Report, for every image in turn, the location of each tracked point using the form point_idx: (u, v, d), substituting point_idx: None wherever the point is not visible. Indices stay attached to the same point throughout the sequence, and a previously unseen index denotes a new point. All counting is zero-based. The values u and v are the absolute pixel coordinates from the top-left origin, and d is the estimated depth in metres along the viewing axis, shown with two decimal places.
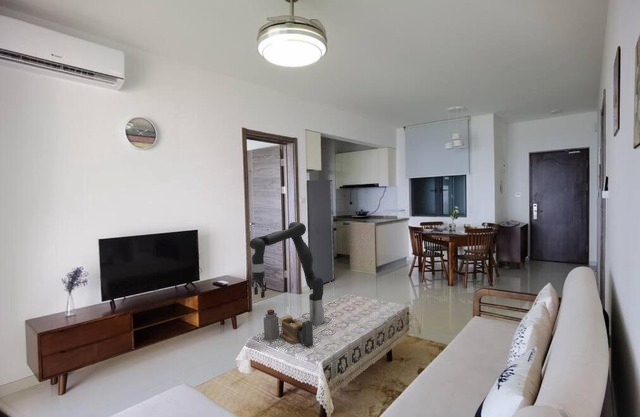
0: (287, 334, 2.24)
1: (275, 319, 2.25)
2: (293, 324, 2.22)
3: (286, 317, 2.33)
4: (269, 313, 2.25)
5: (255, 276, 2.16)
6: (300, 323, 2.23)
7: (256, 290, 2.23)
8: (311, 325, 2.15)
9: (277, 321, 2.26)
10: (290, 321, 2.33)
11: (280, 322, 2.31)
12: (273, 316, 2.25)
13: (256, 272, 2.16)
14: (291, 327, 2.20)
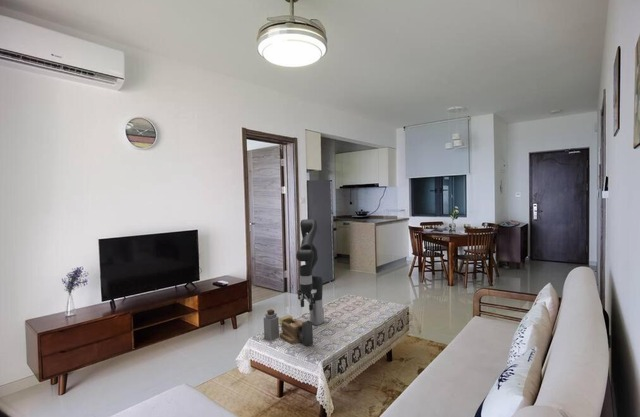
0: (287, 334, 2.24)
1: (275, 319, 2.25)
2: (293, 324, 2.22)
3: (286, 317, 2.33)
4: (269, 313, 2.25)
5: (303, 288, 2.10)
6: (300, 323, 2.23)
7: (303, 302, 2.17)
8: (311, 325, 2.15)
9: (277, 321, 2.26)
10: (290, 321, 2.33)
11: (280, 322, 2.31)
12: (273, 316, 2.25)
13: (304, 284, 2.10)
14: (291, 327, 2.20)
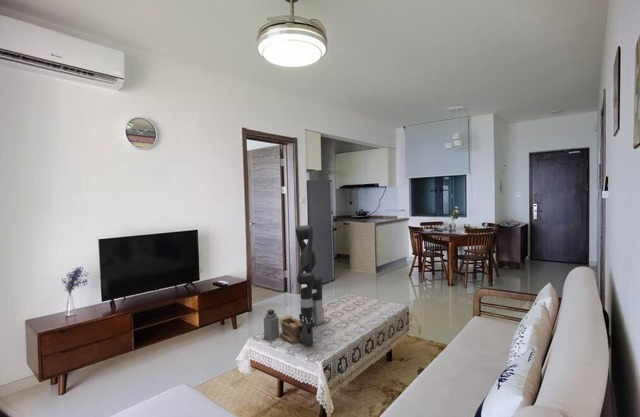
0: (287, 334, 2.24)
1: (275, 319, 2.25)
2: (293, 324, 2.22)
3: (286, 317, 2.33)
4: (269, 313, 2.25)
5: (304, 312, 2.11)
6: (300, 323, 2.23)
7: None
8: None
9: (277, 321, 2.26)
10: (290, 321, 2.33)
11: (280, 322, 2.31)
12: (273, 316, 2.25)
13: (305, 307, 2.11)
14: (291, 327, 2.20)
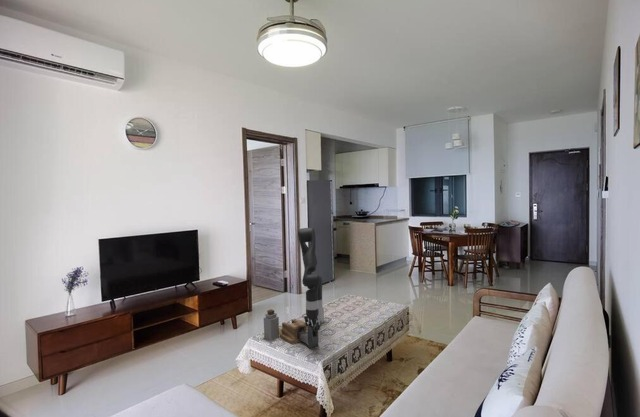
0: (287, 334, 2.24)
1: (275, 319, 2.25)
2: (293, 324, 2.22)
3: None
4: (269, 313, 2.25)
5: (309, 314, 2.07)
6: (300, 323, 2.23)
7: None
8: None
9: (277, 321, 2.26)
10: None
11: (280, 332, 2.32)
12: (273, 316, 2.25)
13: (311, 310, 2.06)
14: (291, 327, 2.20)
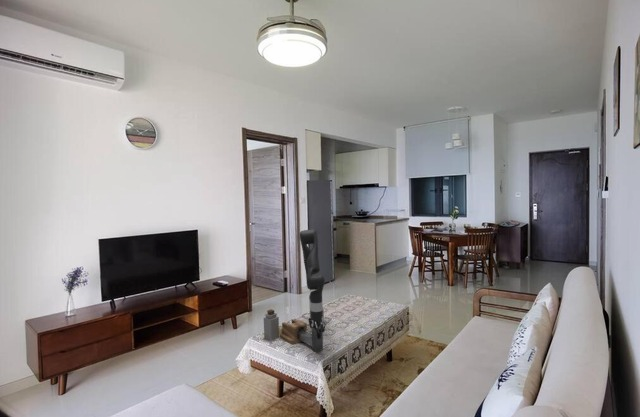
0: (287, 334, 2.24)
1: (275, 319, 2.25)
2: (293, 324, 2.22)
3: None
4: (269, 313, 2.25)
5: (314, 316, 2.04)
6: (300, 323, 2.23)
7: None
8: None
9: (277, 321, 2.26)
10: None
11: (280, 332, 2.32)
12: (273, 316, 2.25)
13: (315, 311, 2.03)
14: (291, 327, 2.20)
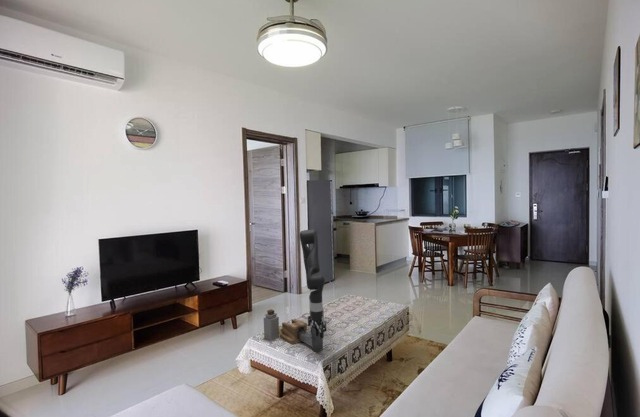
0: (287, 334, 2.24)
1: (275, 319, 2.25)
2: (293, 324, 2.22)
3: None
4: (269, 313, 2.25)
5: (314, 316, 2.04)
6: (300, 323, 2.23)
7: None
8: None
9: (277, 321, 2.26)
10: None
11: (279, 332, 2.33)
12: (273, 316, 2.25)
13: (315, 311, 2.03)
14: (291, 327, 2.20)
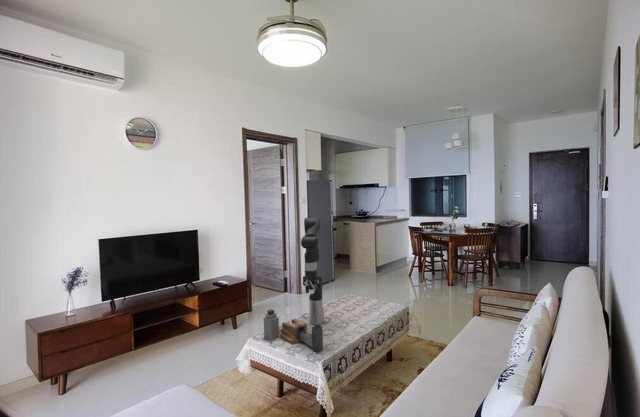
0: (287, 334, 2.24)
1: (275, 319, 2.25)
2: (293, 324, 2.22)
3: None
4: (269, 313, 2.25)
5: (308, 275, 2.13)
6: (300, 323, 2.23)
7: (307, 288, 2.21)
8: (321, 330, 2.07)
9: (277, 321, 2.26)
10: None
11: (279, 332, 2.33)
12: (273, 316, 2.25)
13: (309, 271, 2.13)
14: (291, 327, 2.20)
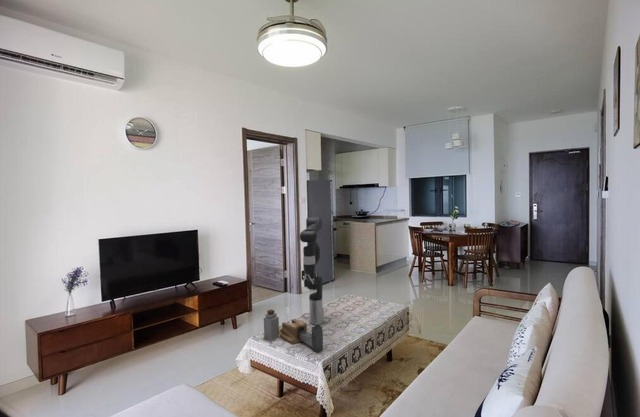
0: (287, 334, 2.24)
1: (275, 319, 2.25)
2: (293, 324, 2.22)
3: None
4: (269, 313, 2.25)
5: (306, 268, 2.16)
6: (300, 323, 2.23)
7: (306, 282, 2.24)
8: (321, 330, 2.07)
9: (277, 321, 2.26)
10: None
11: (279, 332, 2.33)
12: (273, 316, 2.25)
13: (308, 264, 2.16)
14: (291, 327, 2.20)
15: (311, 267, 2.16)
